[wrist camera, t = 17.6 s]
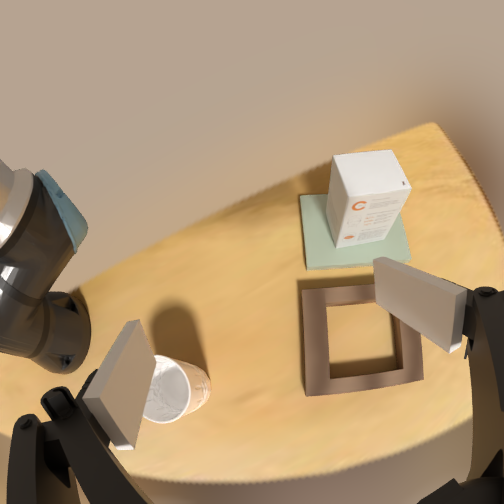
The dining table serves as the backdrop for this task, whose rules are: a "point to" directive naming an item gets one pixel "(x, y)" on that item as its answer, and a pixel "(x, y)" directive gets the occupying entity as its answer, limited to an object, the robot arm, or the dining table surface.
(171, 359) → the white cup
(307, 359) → the walnut holder
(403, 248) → the board
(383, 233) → the small box
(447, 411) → the dining table surface
